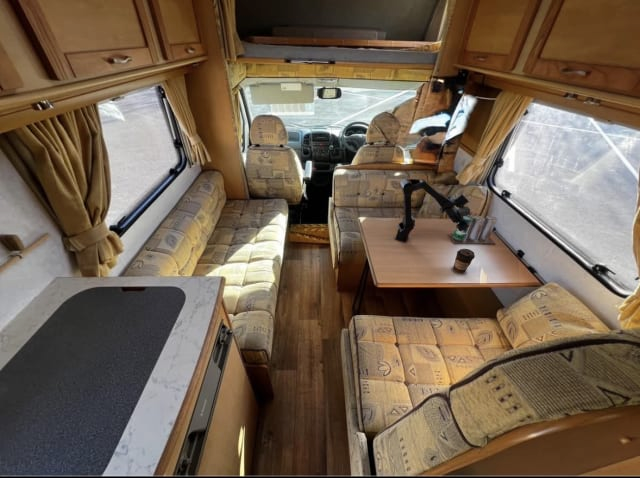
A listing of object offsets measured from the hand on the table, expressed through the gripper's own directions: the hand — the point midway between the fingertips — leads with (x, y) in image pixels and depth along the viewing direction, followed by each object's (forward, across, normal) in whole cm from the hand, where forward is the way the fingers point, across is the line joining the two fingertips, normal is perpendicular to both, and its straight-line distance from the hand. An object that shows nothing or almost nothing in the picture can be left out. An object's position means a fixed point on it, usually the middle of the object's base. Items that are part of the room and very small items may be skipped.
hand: (464, 228), depth 161 cm
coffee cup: (-3, -30, +16) cm, 34 cm away
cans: (+13, 0, -2) cm, 13 cm away
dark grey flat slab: (+11, 0, +1) cm, 11 cm away
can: (+4, 0, +6) cm, 8 cm away
